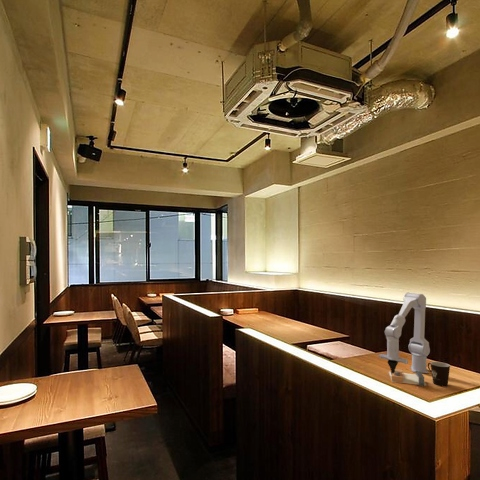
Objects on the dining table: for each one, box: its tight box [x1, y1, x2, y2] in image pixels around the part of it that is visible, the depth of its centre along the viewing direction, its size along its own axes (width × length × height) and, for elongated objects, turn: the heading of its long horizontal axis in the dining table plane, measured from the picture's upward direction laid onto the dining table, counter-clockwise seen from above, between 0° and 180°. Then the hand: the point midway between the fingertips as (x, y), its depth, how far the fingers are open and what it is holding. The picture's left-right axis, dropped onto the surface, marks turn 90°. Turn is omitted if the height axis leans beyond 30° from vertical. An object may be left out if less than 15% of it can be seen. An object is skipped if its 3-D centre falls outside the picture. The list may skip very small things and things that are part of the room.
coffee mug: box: [427, 361, 451, 388], centre depth 174 cm, size 12×9×10 cm
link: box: [391, 367, 404, 383], centre depth 182 cm, size 15×5×2 cm, turn 152°
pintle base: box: [388, 371, 427, 386], centre depth 181 cm, size 16×16×4 cm
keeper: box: [415, 371, 425, 387], centre depth 174 cm, size 9×2×4 cm, turn 162°
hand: (393, 374), depth 184 cm, fingers closed, pressing on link
